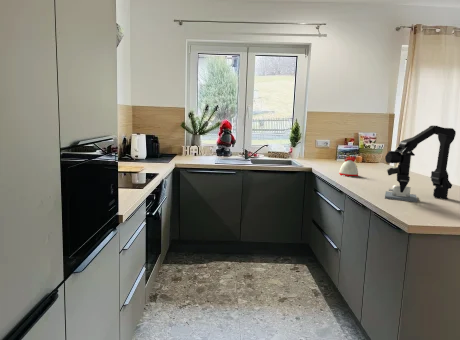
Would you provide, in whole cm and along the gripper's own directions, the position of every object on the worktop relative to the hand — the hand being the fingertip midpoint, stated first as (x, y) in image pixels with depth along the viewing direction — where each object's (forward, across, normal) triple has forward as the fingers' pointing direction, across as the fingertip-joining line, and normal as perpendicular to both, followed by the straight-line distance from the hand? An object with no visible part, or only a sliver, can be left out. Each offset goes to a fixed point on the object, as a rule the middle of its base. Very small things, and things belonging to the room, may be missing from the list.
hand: (401, 191), depth 204 cm
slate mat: (+4, 0, 0) cm, 4 cm away
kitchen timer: (+4, -69, -36) cm, 78 cm away
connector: (+2, 0, 0) cm, 3 cm away
